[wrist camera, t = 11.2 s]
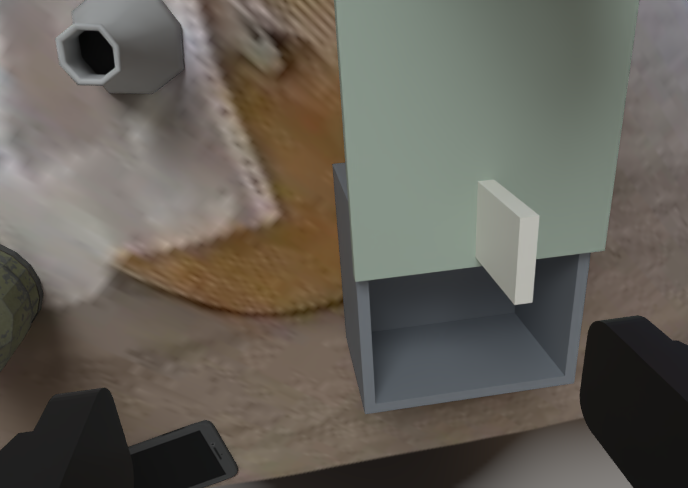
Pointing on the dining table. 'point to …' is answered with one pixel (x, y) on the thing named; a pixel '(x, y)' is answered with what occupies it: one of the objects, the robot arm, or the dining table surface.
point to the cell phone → (183, 459)
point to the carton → (457, 328)
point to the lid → (480, 131)
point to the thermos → (16, 301)
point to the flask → (122, 45)
